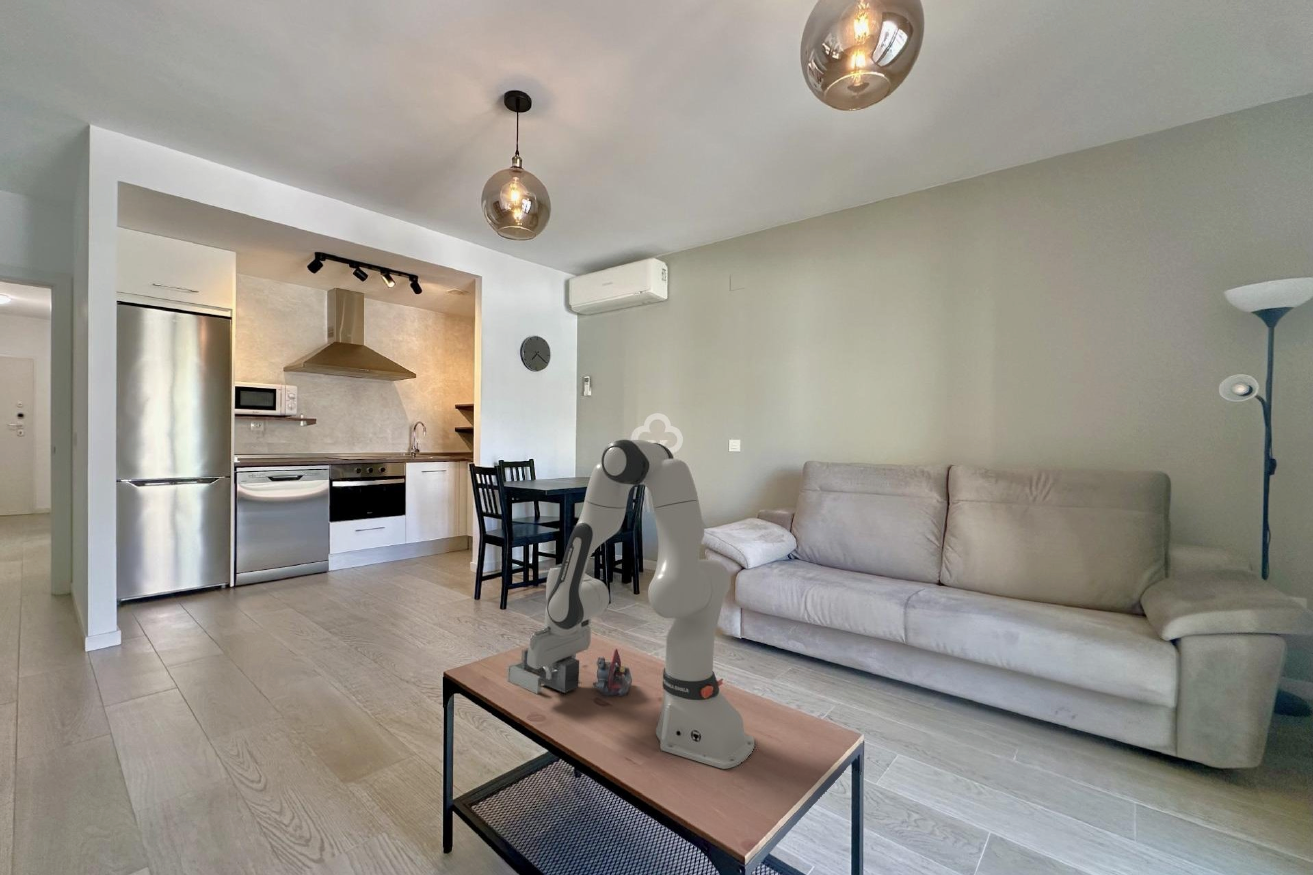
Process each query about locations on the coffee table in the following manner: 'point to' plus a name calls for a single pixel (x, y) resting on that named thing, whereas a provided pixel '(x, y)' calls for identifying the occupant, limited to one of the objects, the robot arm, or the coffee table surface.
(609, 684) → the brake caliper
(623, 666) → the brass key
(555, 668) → the block
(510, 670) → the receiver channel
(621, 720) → the coffee table surface
